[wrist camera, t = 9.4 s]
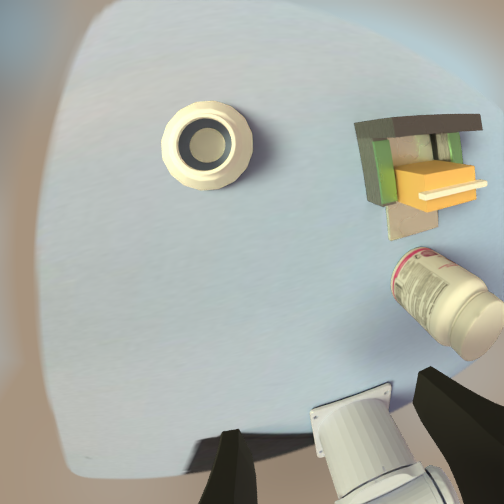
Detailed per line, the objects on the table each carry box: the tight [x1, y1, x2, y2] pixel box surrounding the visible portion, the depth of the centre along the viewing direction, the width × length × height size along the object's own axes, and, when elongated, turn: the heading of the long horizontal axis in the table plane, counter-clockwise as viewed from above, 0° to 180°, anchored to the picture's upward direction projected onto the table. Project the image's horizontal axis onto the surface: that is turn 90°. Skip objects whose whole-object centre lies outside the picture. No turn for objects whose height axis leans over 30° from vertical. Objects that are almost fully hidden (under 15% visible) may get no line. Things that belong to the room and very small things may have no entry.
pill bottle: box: [391, 247, 504, 361], centre depth 16 cm, size 5×5×8 cm
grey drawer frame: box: [354, 114, 483, 241], centre depth 15 cm, size 8×7×4 cm
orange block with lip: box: [394, 160, 487, 213], centre depth 15 cm, size 2×5×5 cm, turn 103°
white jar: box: [161, 101, 253, 190], centre depth 15 cm, size 5×3×5 cm
